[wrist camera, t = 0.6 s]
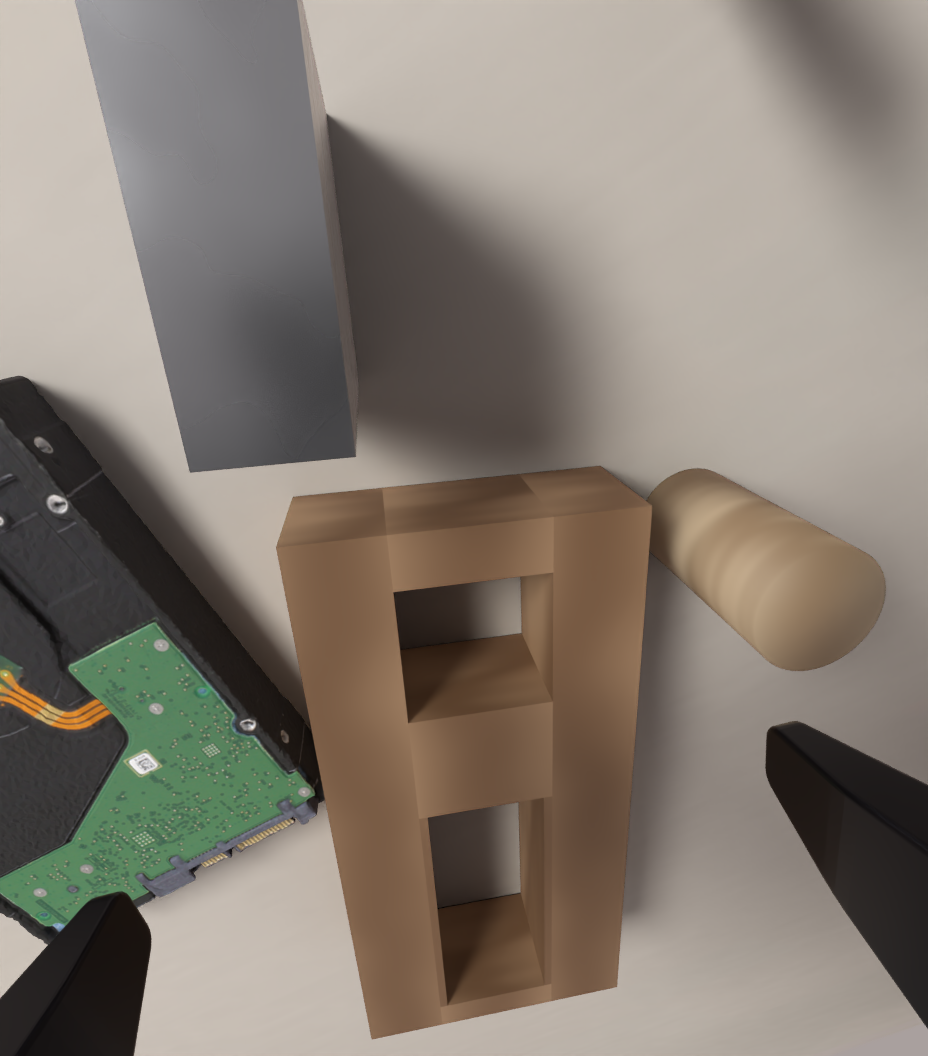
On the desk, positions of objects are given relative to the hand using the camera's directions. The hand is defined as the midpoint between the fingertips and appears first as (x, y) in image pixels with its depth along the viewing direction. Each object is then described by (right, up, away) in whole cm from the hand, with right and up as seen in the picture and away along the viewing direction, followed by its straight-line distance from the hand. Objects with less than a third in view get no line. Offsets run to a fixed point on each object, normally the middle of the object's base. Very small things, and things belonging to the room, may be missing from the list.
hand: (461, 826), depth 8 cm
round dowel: (+7, +4, +11) cm, 14 cm away
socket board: (0, -3, +13) cm, 13 cm away
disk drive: (-12, 0, +10) cm, 16 cm away
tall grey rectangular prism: (-4, +11, +6) cm, 13 cm away
